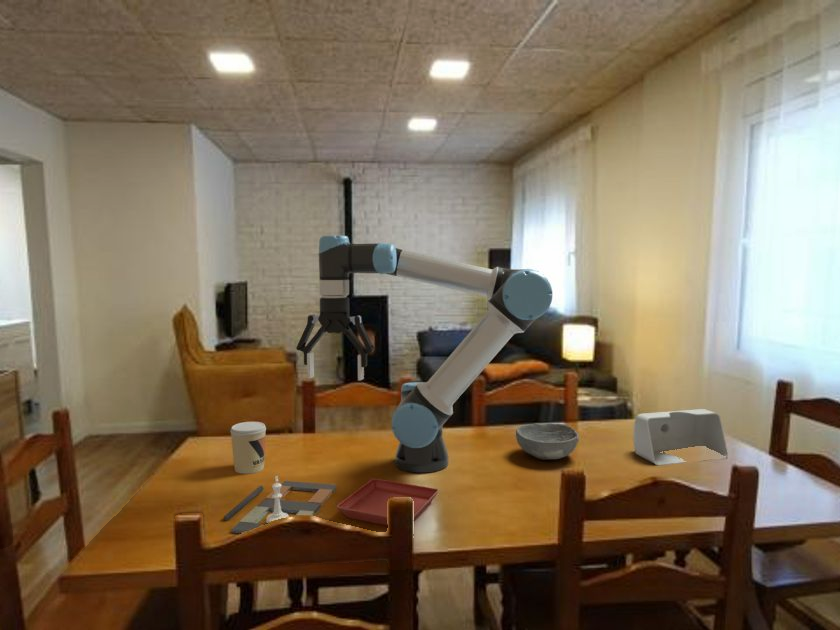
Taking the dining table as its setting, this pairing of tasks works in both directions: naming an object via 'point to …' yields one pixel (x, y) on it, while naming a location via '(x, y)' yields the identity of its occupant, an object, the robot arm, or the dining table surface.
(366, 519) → the plant saucer
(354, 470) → the dining table surface
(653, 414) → the grey plastic housing
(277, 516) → the chess piece
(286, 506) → the panel
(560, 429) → the bowl
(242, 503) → the rod
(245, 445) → the coffee cup
